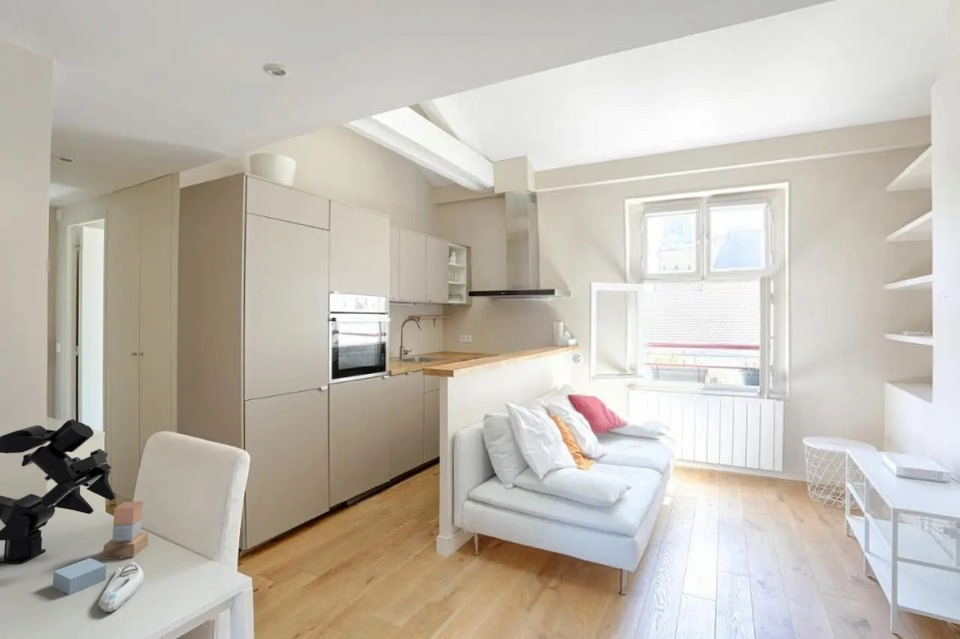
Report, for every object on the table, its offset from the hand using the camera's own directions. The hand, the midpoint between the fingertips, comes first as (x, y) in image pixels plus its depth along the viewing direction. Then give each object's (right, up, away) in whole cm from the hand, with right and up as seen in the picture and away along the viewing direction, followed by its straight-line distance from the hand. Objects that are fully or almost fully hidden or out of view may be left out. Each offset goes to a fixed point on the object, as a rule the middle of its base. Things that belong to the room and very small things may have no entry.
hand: (103, 505), depth 120 cm
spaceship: (+17, -13, -15) cm, 26 cm away
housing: (+6, -9, +1) cm, 11 cm away
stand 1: (+6, -12, -14) cm, 20 cm away
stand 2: (+5, -13, +1) cm, 14 cm away
